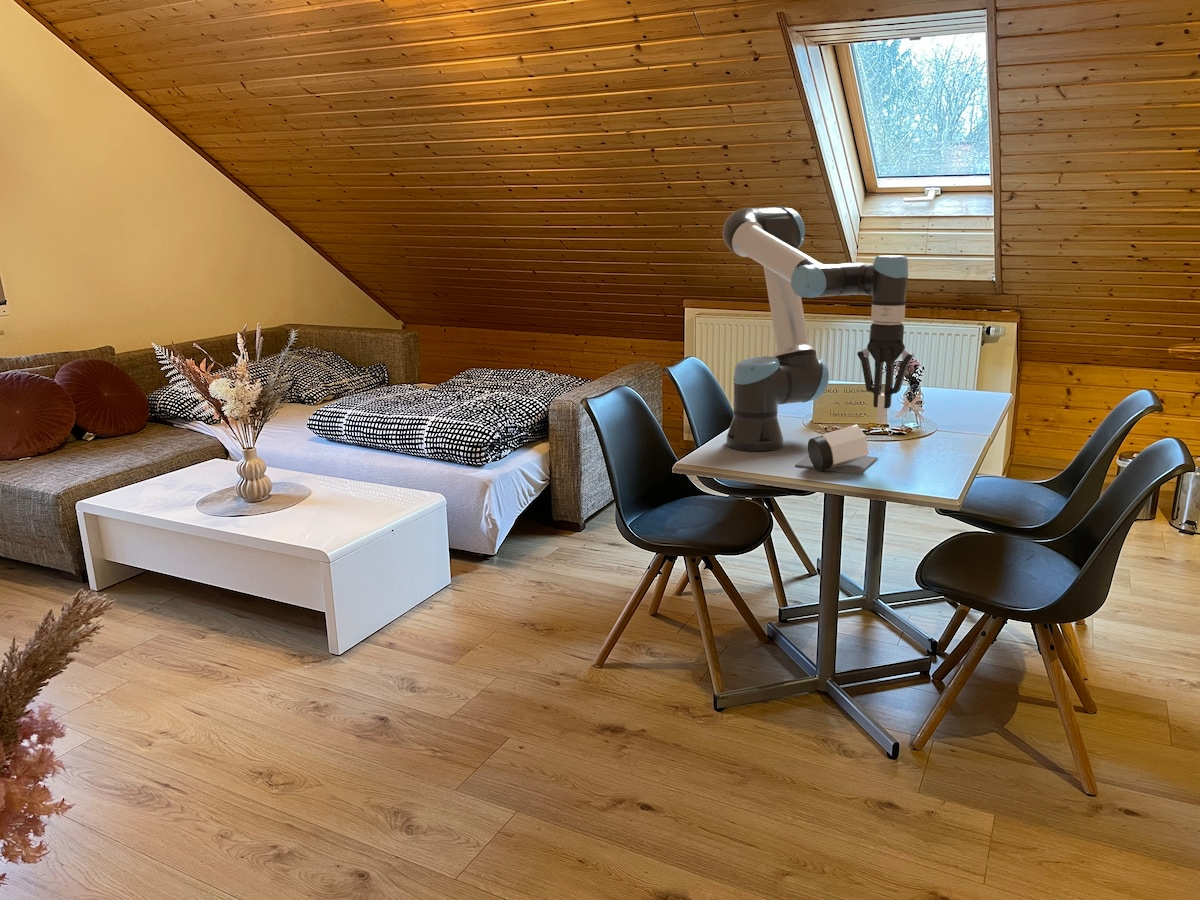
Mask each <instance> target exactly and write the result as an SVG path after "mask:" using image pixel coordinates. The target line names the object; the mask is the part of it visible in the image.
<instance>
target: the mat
mask: <svg viewBox="0 0 1200 900" xmlns="http://www.w3.org/2000/svg"><path fill="white" fill-rule="evenodd" d="M876 461H878V457H875V456H869V455H867V456H866V457H865V458H863V459H862V460H859V461H855V462H852V463H848V464H845V465H842V466H838V467H835V468H830V469H825V470H824V471H828V472H834V473H835V472H836V473H843V474H851V475H858V476H859V475H861V474H863V473H864V472H865V471H866V470H867V469H868V468H869V467H870V466H872V465H873V464H874V463H875V462H876ZM794 466H795V467H796V468H805V469H811V470H817V469H816V468H815V467H814V466H813V464H812V462H811V460H810V457H809V454H808V455H807V456H806V457H804V458H803V459H801V460H800V461H798V462H797V463H796V464H795V465H794Z"/></svg>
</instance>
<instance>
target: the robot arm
mask: <svg viewBox="0 0 1200 900" xmlns="http://www.w3.org/2000/svg"><path fill="white" fill-rule="evenodd" d="M805 229H806V228H805V224H804V221H803V219H802V217H801V215H800V214H799V213H798V212H797V211H796V210H794V209H793V208H792V207H791V208H790V207H783V206H773V207H743V208H739V209H736V210H735V211H734V212H732V213H731V214H730V215H729V216H728V217H727V218H726V220H725V222H724V224H723V227H722V239H723V242H724V243H725V245H726V247H727V248H728V249H729V251H731V252H733V253H735V254H736V255H738V256H739V257H741V258H742V257H744V258H747V257H748V258H750V259H752V260H753V261H754V262H755V263H756V262H757V264H760V265H762V267H763V271H764V278H765V283H766V290H767V296H768V302H769V309H770V314H771V320H772V326H773V332H774V338H775V343H776V344H775V345H776V352H775V354H774V355H773V356H768V355H767V356H766V355H765V356H761V357H760V356H756V357H748V358H746V359H745V358H744V359H743V360H741V361H739V362H737V364H736V366H735V367H734V373H733V374H734V376H733V417H732V420H731V423H730V425H729V429H728V431H727V434H726V446H727V447H729V448H731V449H734V450H740V451H746V452H747V451H748V452H767V451H775V450H779V449H781V448H782V447H783V446H784V435H783V432H782V429H781V426H780V421H779V420H778V409H779V408H778V407H779V405H787V404H796V403H807V402H811V401H815V400H818V399H819V398H821V397H822V396H823V395H824V393H825V391H826V389H827V388H828V386H829V385H828V384H829V380H830V371H829V366H828V365H827V363H826V362H825V360H824V359H823V358H820V357H817V356H818V355H817V351H816V349H815V348H814V347H813V346H812V345H810V342H809V337H808V330H807V325H806V320H805V313H804V307H803V302H802V298H807V299H815V298H823V297H834V296H835V297H836V296H837V297H838V296H855V295H857V296H858V295H860V296H861V295H863V296H872V299H871V311H870V312H871V315H870V320H871V322H872V323H871V324H870V329H869V330H870V331H869V342H868V343H867V345H866V346H867V347H865V348H864V349H862V350H859V351H858V352H857V353H856V355H857V357H858V358H859V360H860V362H861V367H862V373H863V379H864V384H865V389H866V391H867V392H870V393H872V394H873V407H874V408H877V409H876V410H877V411H876V423H884V422H885V421H886V420H887V418H886V417H887V409H890V408H891V406H892V395H894V394H898V393H899V392H900V391H901V388H902V385H903V382H904V378H905V376H906V373H907V370H908V367H909V364H910V362H911V361H912V360H913V358H914V357H915V354H914V353H913V352H909V351H908V350H907V349H906V346H905V344H904V333H905V325H904V324H903V322H905V317H906V300H907V287H908V278H909V260H908V257H906V256H905V255H897V254H896V255H886V254H885V255H877V256H875V258H874V261H873V263H871V262H870V263H869V262H868V263H867V262H860V261H852V262H851V261H850V262H845V263H829V264H828V263H822V262H819V260H818V261H817V260H816V259H814V258H812V257H811V256H809V255H807V254H806V253H803V252H802V251H800V250H799V249H800V247H802V245H803V243H804V240H805V239H804V237H805V235H806V230H805ZM870 355H871V357H872V358H873V361H874V379H873V376H872V369H871V363H870V358H869V356H870ZM901 355H902V356H901ZM900 356H901V360H902V361H901V363H900V366H899V370H898V373H897V375H896V378H895V381H894V371H895V370H894V369H895V365H896V364H895V363H896V362H895V361H896V360H898V358H899V357H900ZM884 363H885V380H884V381H885V382H884V392H883V390H882V386H883V385H882V383H883V370H884V368H883V367H884ZM873 380H874V381H873Z"/></svg>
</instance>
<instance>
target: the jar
mask: <svg viewBox="0 0 1200 900" xmlns="http://www.w3.org/2000/svg"><path fill="white" fill-rule="evenodd" d="M867 438H868V437H867V435H866V434H865V433H864V432H863V430H862V429H861V428H860V427H859V426H858V424H854V425H851V426H847V427H844V428H841V429H836V430H834V431H831V432H825V433H822V434H821V435H819V436H816V437H812V438H810V439H809V440H808V443H807V453H808V455H809V457H810V460H811V462H812V464H813V466H814V467H815V468H816V469H815V470H817V471H819V472H821V471H826V470H825V469H830V468H835V467H838V466H842V465H845V464H848V463H852V462H855V461H859V460H862V459H863V458H865V457H866V456H869V455H870V452H869V447H868V445H869V444H868V439H867Z"/></svg>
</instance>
